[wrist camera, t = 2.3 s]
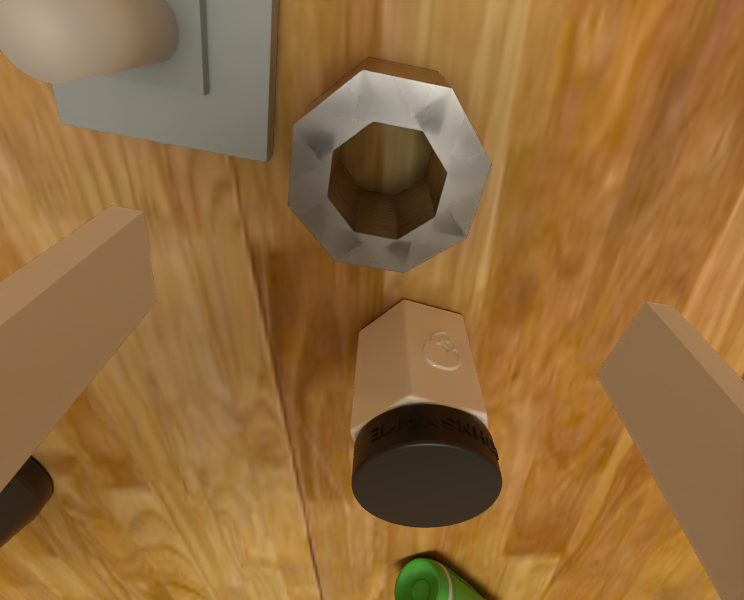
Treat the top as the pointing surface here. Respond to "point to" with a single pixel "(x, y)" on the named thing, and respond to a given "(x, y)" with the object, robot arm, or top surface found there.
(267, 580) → the top surface
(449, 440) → the jar
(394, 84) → the tube
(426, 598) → the speaker
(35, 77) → the shaft stand
